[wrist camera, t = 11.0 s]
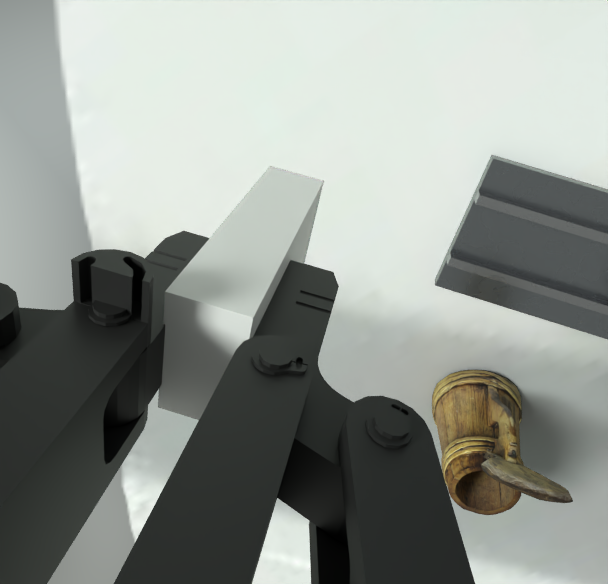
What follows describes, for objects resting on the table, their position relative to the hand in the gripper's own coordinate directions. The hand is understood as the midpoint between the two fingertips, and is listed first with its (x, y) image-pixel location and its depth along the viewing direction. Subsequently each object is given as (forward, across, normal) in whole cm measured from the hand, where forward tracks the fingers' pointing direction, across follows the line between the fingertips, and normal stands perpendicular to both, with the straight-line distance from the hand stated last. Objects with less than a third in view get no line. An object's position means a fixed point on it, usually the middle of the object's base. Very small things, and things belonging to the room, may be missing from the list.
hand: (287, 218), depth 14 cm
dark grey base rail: (+29, +25, -10) cm, 40 cm away
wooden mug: (+29, +19, -26) cm, 44 cm away
